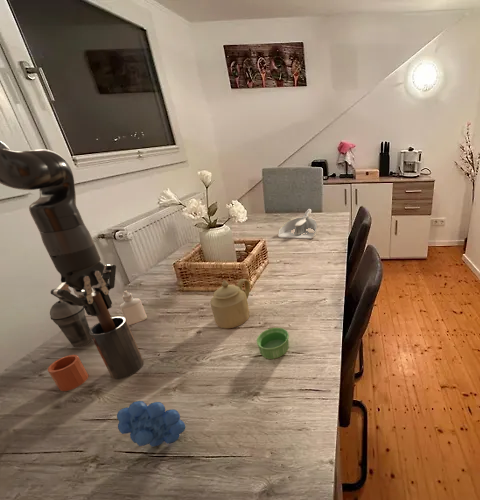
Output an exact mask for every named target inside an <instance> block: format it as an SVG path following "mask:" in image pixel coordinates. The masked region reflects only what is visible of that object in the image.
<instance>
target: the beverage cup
mask: <svg viewBox="0 0 480 500" xmlns="http://www.w3.org/2000/svg"><path fill="white" fill-rule="evenodd" d="M54 289H57V288H54ZM49 317H50V319H51V320H52V321H53V323H54V324H55V325H57V327H58V328H59V329H60V331H61V332H62V333H63V335H64V336H65V338H66V339H67V340H68V342H69V343H70V344H71V345H72V346H73V347H74V348H79V347H84V346H86V345H88V344H89V343H91V342H92V341H93V339H92V337H91V335H90V333H89V331H90V329H91V328H90V325H89V322H88V319H87V316H86V310H85V309H84V307H83V306H72V305H70V304H68V303H66V302H64V301H63V300H61V299H59V298H58V301H56V302H54V303H53V304H52V306H51V307H50V309H49Z"/></svg>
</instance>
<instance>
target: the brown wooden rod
mask: <svg viewBox="0 0 480 500" xmlns="http://www.w3.org/2000/svg"><path fill="white" fill-rule="evenodd" d="M92 292H93V293H92V298H93V302H95V303H96V305H97V307H98V309H99V312H100V315H98V316H96V318H97V321H98V323H99V322H100V324H101V327H102V329H103V331H104V333H106V332H109V331H111V330H114V329H116V326H115V324H114V322H113V320H112V315H111V313H110V311H109V309H107V306H106V304H105V302H104V300H103V297H102V295H101V293H100V292H95V291H92Z"/></svg>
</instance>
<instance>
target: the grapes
mask: <svg viewBox="0 0 480 500" xmlns="http://www.w3.org/2000/svg"><path fill="white" fill-rule="evenodd" d="M116 419H117V420H118V424H117V430H118V432H119V433H120V434H122V435H126V434H129V438H130V439H131V442H133V444H137V446H138V447H142V446H143V447H144V446H147V445H149V446H150V447H157V446H161V445H162V444H163V443H165V444H167V445H168V444H172V443H175V442H177V441H178V440H179V438H180V435H181V434H183V433H184V432H185V430H186V427H187V426H186V423H185V422H184V420H182V419H181V415H180V413H179V410H177V409H175V408H172V409H171V408H170V409H167V410H166V406H165V405H164V404H163V402H162V401H154V402H151V403H149V404H148V405H147V403H146V402H145V401H144V400H137V401H133V402H132V403H130V404H129V406H128V407H123V408H121V409H119V410H117V413H116Z"/></svg>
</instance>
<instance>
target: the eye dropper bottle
mask: <svg viewBox="0 0 480 500" xmlns="http://www.w3.org/2000/svg"><path fill="white" fill-rule="evenodd" d="M121 297H122V300H123V302H122V303H120V305H119V309H120V311H121V314H122V317H124V318H125V319H126V321H127V323H128V326H131V325H134V324H137V323H140V322H141V321H142V322H144V321H145V320H146V319H147V318H148V316H147V313H146V310H145V308H144V305H143V303H142V300H141V299H140V298H138V297H135V298H134V297H133V294H132V293H131V292H128V291H127V290H124V291H123V295H122V296H121Z"/></svg>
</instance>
